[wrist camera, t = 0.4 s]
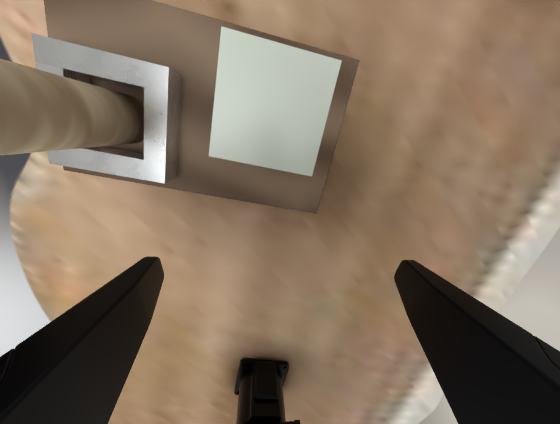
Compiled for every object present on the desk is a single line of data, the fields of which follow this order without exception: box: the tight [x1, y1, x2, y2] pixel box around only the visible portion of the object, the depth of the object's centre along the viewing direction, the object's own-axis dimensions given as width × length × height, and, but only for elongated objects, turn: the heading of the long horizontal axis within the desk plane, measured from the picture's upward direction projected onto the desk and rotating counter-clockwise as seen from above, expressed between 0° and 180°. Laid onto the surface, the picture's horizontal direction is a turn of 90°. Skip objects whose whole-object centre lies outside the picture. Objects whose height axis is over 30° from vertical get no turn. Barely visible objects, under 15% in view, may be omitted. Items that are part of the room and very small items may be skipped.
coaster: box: [209, 26, 342, 176], centre depth 18 cm, size 9×9×1 cm
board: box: [44, 0, 359, 214], centre depth 18 cm, size 13×22×1 cm, turn 78°
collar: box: [32, 33, 182, 184], centre depth 16 cm, size 8×8×2 cm
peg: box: [0, 59, 144, 155], centre depth 10 cm, size 5×5×14 cm
